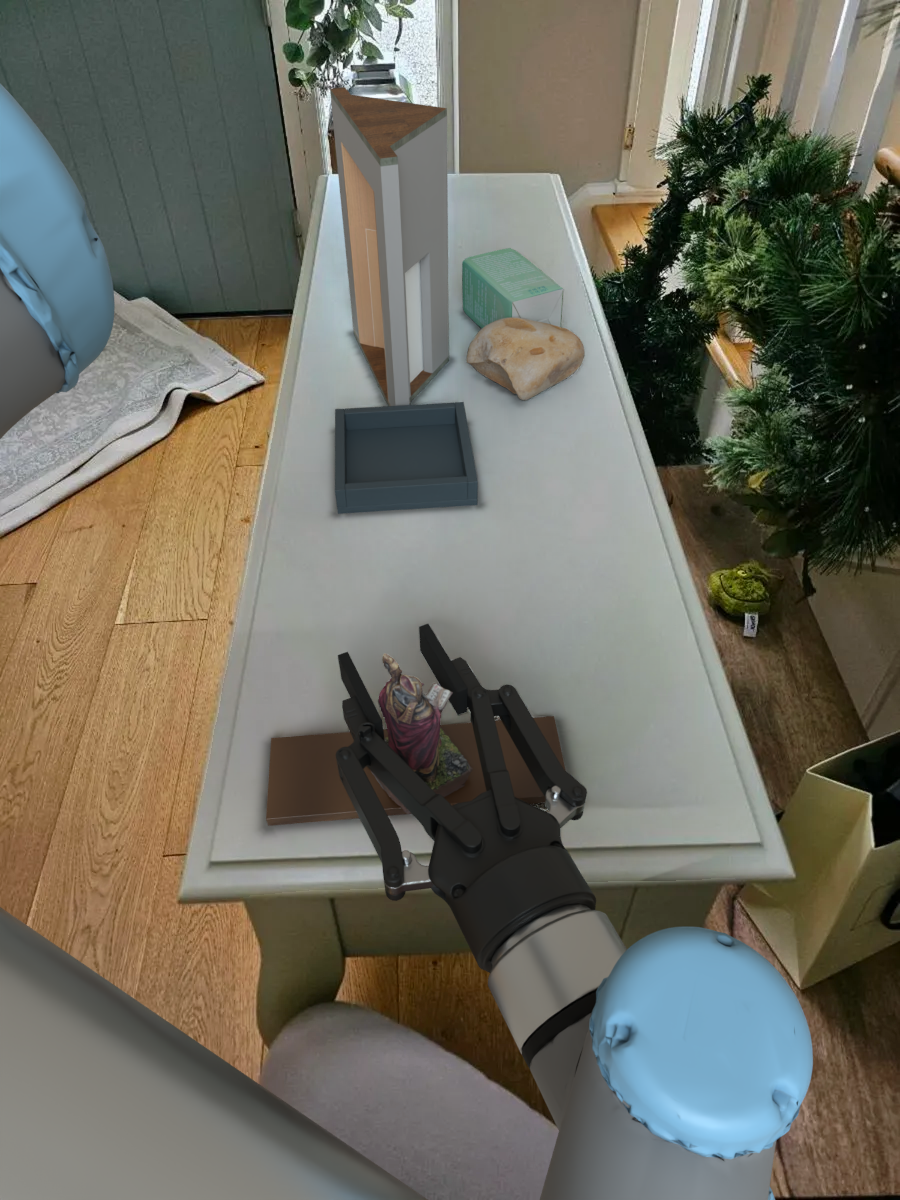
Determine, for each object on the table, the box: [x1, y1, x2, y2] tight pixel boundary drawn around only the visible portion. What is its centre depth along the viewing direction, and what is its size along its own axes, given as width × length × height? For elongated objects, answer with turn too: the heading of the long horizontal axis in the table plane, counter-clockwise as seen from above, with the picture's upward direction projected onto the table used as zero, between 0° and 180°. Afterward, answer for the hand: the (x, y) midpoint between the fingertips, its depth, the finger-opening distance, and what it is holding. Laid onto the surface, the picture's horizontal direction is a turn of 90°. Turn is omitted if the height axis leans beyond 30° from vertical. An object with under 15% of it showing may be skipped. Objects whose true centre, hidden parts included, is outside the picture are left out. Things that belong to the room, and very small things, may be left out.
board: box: [265, 715, 567, 827], centre depth 64 cm, size 22×7×1 cm, turn 95°
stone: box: [466, 317, 586, 401], centre depth 100 cm, size 14×11×8 cm
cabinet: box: [329, 86, 450, 406], centre depth 94 cm, size 21×10×28 cm, turn 18°
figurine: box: [370, 652, 473, 815], centre depth 59 cm, size 6×6×12 cm
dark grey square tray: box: [334, 401, 479, 515], centre depth 89 cm, size 14×14×3 cm
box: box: [461, 247, 565, 330], centre depth 108 cm, size 7×14×8 cm, turn 26°
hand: (385, 651), depth 62 cm, fingers open, 5 cm apart
